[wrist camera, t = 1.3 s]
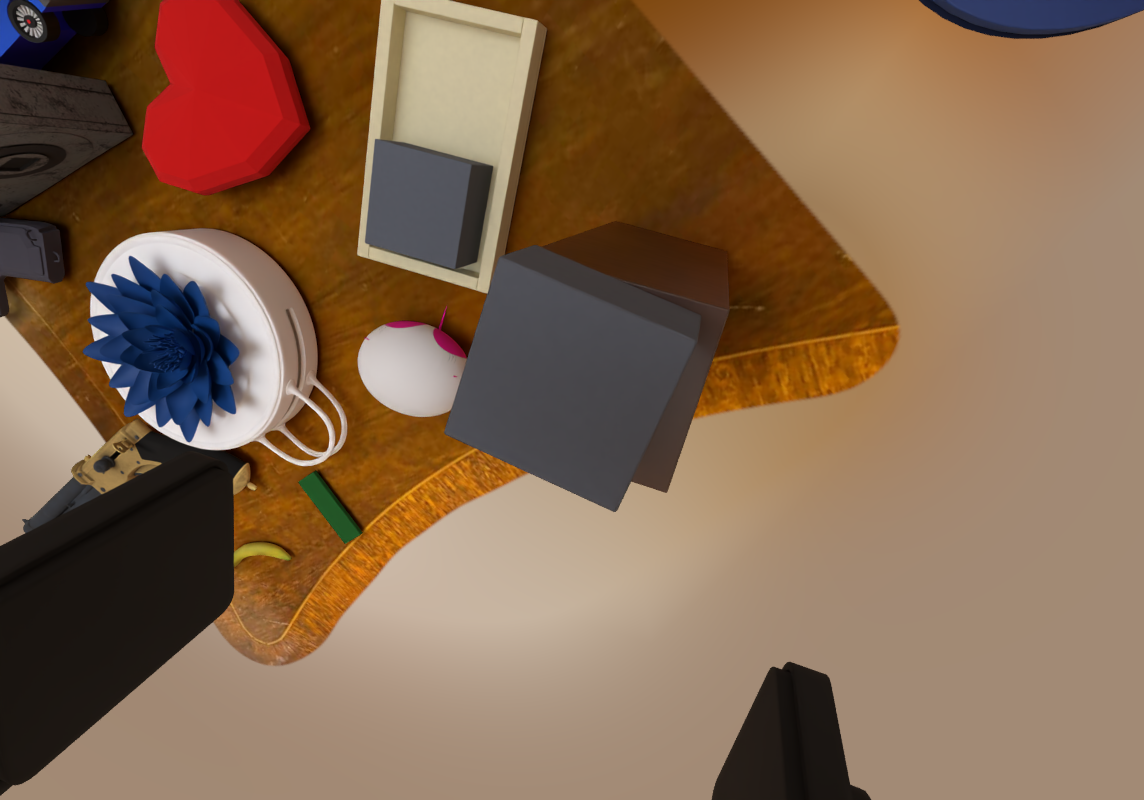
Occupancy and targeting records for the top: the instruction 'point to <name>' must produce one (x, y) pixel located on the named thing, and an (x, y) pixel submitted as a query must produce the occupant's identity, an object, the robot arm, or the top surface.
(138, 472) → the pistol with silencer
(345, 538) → the green plastic strip
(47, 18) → the toy car
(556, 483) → the loose pad
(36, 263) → the handgun
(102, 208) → the top surface
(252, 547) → the fruit
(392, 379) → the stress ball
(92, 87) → the camera
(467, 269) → the frame
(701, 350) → the stand
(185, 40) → the heart
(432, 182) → the seated pad
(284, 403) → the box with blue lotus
